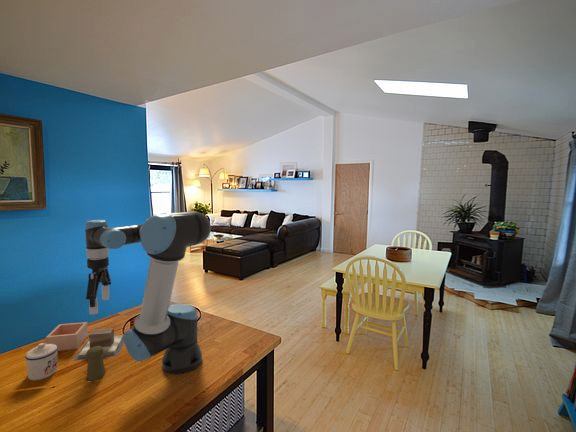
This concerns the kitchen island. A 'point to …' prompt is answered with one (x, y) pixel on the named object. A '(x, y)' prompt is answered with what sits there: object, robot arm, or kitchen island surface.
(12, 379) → the kitchen island surface
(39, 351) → the white lidded canister
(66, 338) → the pink open box
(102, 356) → the mat
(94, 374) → the olive green rounded column
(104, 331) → the lid
